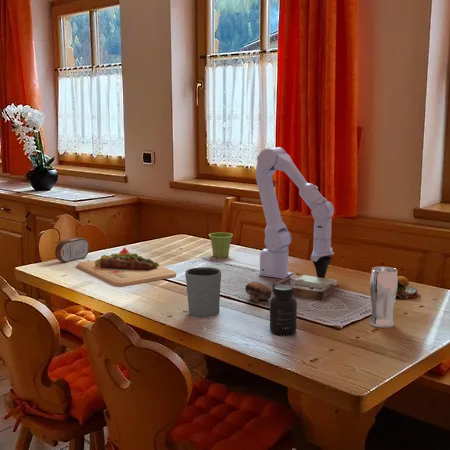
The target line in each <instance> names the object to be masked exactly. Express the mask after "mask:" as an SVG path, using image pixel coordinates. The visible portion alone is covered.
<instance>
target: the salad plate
mask: <svg viewBox="0 0 450 450" xmlns="http://www.w3.org/2000/svg"><path fill="white" fill-rule="evenodd" d="M407 275H408V274H406V275H405V276H403V275H399V276H398V275H397V280H398V283H397V293H396V297H398V298H399V299H400V300H407V299H411V298H412V299H414V298H415V299H416V297H417V296H418V289H417V288H415V287H413V286H411V285H410V281H409V280H408V278H407Z"/></svg>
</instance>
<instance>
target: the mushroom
mask: <svg viewBox="0 0 450 450" xmlns="http://www.w3.org/2000/svg"><path fill="white" fill-rule="evenodd" d="M244 289H245V292H246V294H247V295H249V298H250V300H252V301H254V302H255V303H258V302H259V300H262V301H263V300H269V299H271V298H272V291H271V288H270V287H269V286H268V285H266V284H264V283H261V282H259V281H251V282H250V281H249V282H248V283H247V284H245V287H244Z"/></svg>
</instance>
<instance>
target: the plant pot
mask: <svg viewBox="0 0 450 450" xmlns="http://www.w3.org/2000/svg"><path fill="white" fill-rule="evenodd" d="M208 237H209V240H210V242H211V243H210V244H211V251H212V256H213V257H215V258H217V257H218V259H224V258H225V257H226V258H227V257H229V255H230V248H231V242H232V238H233V237H234V236H233V233H230V232H212V233H208Z"/></svg>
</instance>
